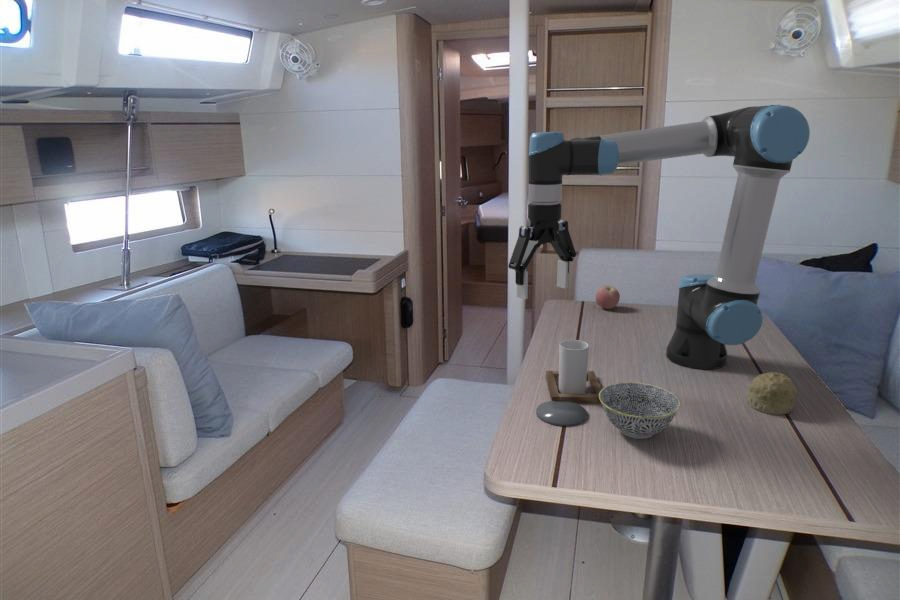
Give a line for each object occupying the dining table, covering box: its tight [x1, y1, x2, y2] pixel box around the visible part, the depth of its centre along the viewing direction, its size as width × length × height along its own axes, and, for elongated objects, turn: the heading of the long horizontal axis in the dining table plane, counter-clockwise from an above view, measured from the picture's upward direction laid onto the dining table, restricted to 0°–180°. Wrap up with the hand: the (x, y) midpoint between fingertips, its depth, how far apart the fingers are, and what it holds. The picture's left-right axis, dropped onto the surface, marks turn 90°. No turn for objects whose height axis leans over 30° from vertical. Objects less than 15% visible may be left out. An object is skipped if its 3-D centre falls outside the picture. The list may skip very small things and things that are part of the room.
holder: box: [544, 370, 603, 404], centre depth 144 cm, size 12×15×2 cm
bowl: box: [599, 381, 682, 440], centre depth 123 cm, size 16×16×8 cm
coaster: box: [535, 400, 588, 427], centre depth 132 cm, size 11×11×1 cm
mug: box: [558, 339, 590, 394], centre depth 142 cm, size 10×7×12 cm, turn 155°
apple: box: [595, 285, 620, 310], centre depth 204 cm, size 8×8×8 cm
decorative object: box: [746, 371, 798, 416], centre depth 133 cm, size 9×10×10 cm
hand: (542, 292), depth 142 cm, fingers open, 13 cm apart
